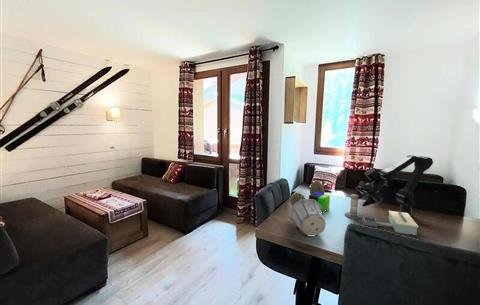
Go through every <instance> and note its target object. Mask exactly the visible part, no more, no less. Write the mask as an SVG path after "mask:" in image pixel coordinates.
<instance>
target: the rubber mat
mask: <svg viewBox="0 0 480 305" xmlns="http://www.w3.org/2000/svg"><path fill="white" fill-rule="evenodd" d="M344 216H345V217H346V218H349V219H352V220H362V219H363V215H362V214H360V213H358V212H357V216H356V217H354V216H351V215H350V211H349V212H345V213H344Z"/></svg>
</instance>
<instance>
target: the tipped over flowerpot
mask: <svg viewBox="0 0 480 305" xmlns="http://www.w3.org/2000/svg"><path fill="white" fill-rule="evenodd" d="M290 204H291V206H290V209H289V210H290V211H289V220H290V221H291V222H293V224H295V225H296V226H297V227H298V229H299V231H300V232H301V233H302V234H303V235H304V236H306V235H317V236H319V235H321V234H322V233H323V232H324V231H325V229H326V225H327V224H326V220H325V217H324V216H323V213H321V211H322V206H321V205H320V204H319V203H318V202H317V201H315V200H314V199H309V198H308V199H306V198H305V196H304V195H303V194H302V193H299V192H294V193H292V194H291V195H290Z"/></svg>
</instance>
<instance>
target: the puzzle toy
mask: <svg viewBox="0 0 480 305" xmlns="http://www.w3.org/2000/svg"><path fill="white" fill-rule="evenodd" d="M330 196H331V195H330V194H326V193H324V194H322V193H317V192H315V193H313V194H311V195H310V194H309V195H308V199H314V200H315V201H317V202H318V203H319V204H320V205H321V206H322V211H321V212H324V211H325V210H327V209H329V210H330V201H331V200H330ZM327 211H328V210H327ZM324 213H325V212H324Z"/></svg>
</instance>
